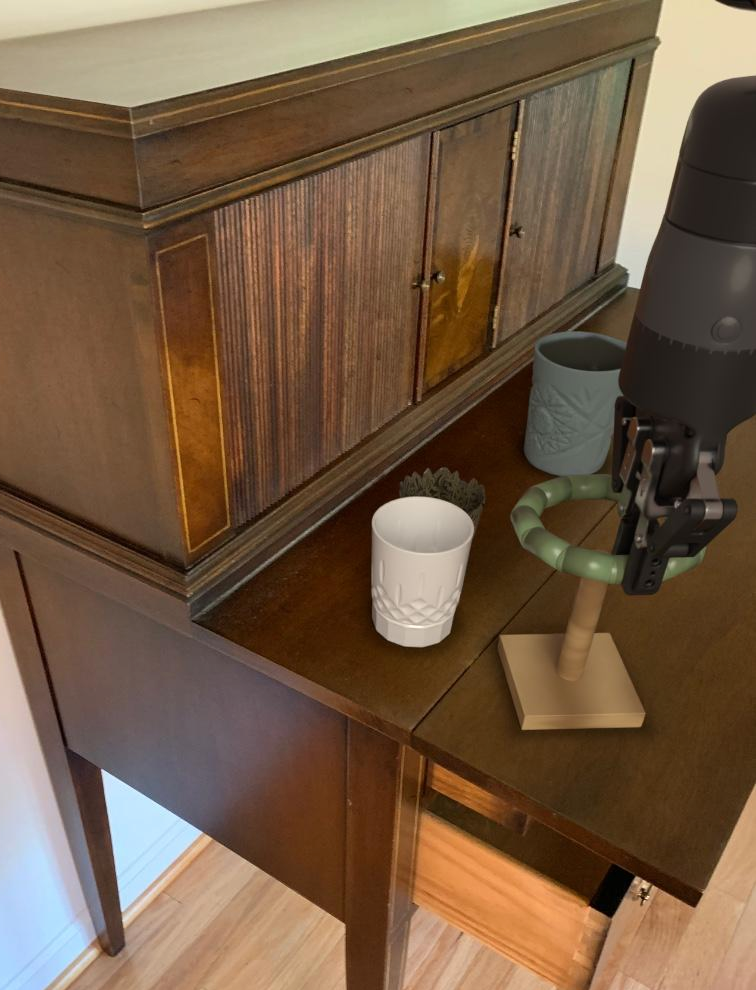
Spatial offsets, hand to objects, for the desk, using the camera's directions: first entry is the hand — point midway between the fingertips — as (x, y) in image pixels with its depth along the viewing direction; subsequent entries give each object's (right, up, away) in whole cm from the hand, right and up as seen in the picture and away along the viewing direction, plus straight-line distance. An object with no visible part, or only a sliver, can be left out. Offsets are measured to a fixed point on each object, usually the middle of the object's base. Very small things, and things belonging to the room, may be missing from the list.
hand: (632, 578), depth 58 cm
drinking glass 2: (+7, +14, +41) cm, 44 cm away
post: (0, -8, +14) cm, 16 cm away
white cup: (-12, -3, +19) cm, 23 cm away
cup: (-9, +2, +26) cm, 27 cm away
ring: (0, +4, +4) cm, 5 cm away
